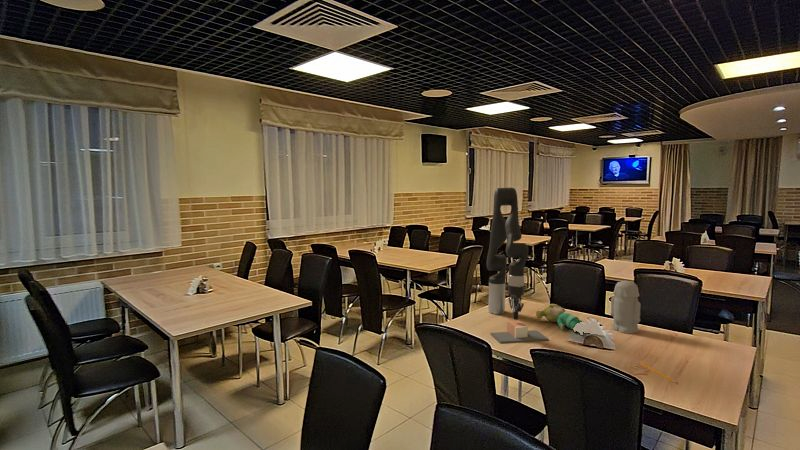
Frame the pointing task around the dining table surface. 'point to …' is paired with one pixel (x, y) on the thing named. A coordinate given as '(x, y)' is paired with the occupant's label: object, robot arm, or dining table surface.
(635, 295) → the grey stone figurine
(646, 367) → the pencil
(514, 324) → the block
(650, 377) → the dining table surface
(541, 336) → the mat
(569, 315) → the toy
